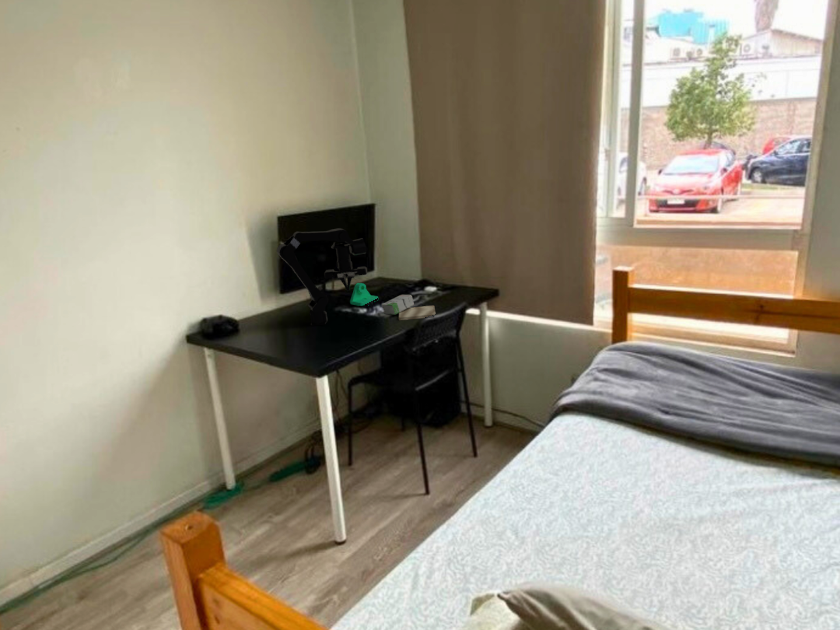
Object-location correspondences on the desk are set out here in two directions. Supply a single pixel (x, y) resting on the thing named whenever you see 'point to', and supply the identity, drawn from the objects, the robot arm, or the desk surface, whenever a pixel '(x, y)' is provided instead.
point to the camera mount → (361, 295)
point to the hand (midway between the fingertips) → (348, 291)
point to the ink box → (398, 304)
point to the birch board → (417, 312)
